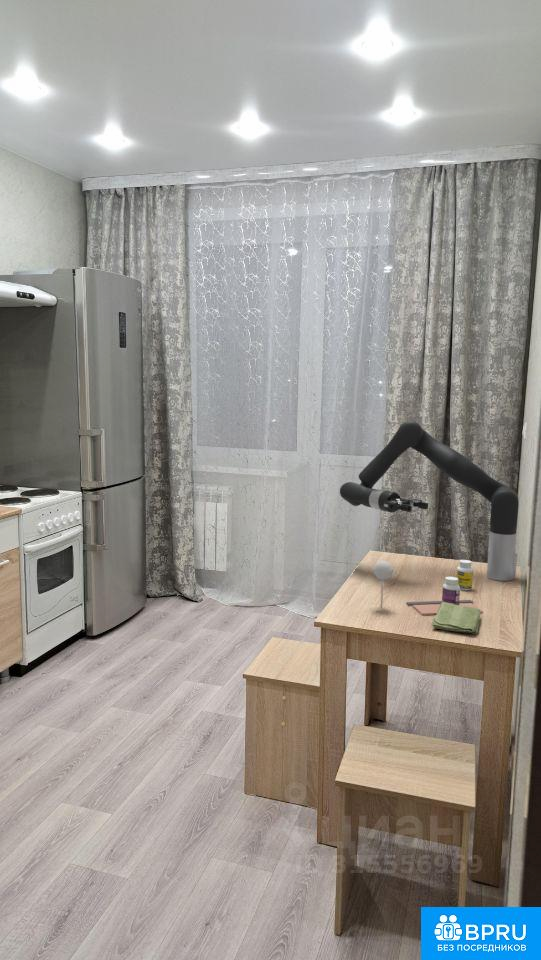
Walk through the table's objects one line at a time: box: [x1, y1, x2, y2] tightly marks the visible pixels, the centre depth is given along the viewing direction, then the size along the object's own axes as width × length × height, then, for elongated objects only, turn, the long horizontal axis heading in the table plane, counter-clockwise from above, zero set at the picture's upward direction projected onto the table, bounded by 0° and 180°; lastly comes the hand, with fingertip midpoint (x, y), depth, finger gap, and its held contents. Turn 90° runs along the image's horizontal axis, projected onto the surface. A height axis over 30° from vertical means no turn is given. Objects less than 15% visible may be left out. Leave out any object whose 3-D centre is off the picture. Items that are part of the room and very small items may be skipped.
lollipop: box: [372, 560, 394, 608], centre depth 217 cm, size 6×6×15 cm
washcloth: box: [431, 602, 481, 635], centre depth 204 cm, size 13×18×3 cm
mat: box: [406, 599, 484, 616], centre depth 218 cm, size 22×11×1 cm, turn 99°
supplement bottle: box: [456, 559, 474, 591], centre depth 238 cm, size 5×5×10 cm
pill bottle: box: [441, 576, 461, 605], centre depth 216 cm, size 5×5×10 cm
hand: (419, 507), depth 237 cm, fingers open, 8 cm apart
